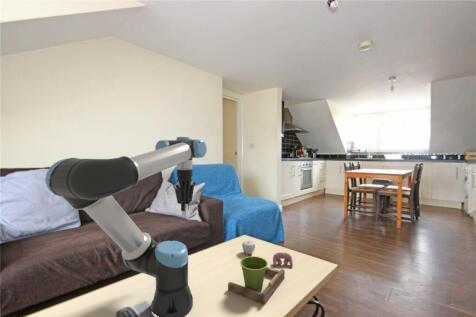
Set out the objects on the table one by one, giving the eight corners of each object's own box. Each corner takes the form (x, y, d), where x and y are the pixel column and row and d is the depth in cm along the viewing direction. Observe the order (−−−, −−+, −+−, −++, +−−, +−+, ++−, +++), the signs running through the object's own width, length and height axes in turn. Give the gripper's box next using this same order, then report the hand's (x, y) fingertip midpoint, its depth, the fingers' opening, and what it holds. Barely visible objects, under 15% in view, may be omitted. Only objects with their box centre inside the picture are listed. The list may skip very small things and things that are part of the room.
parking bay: (228, 290, 97) (228, 279, 97) (251, 268, 115) (251, 259, 114) (264, 304, 88) (264, 292, 88) (284, 278, 106) (284, 268, 106)
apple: (244, 249, 137) (244, 238, 137) (256, 251, 135) (257, 239, 134) (239, 254, 130) (239, 243, 130) (253, 256, 127) (253, 245, 127)
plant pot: (239, 280, 104) (239, 256, 103) (265, 280, 104) (265, 256, 104) (239, 297, 92) (240, 269, 92) (269, 297, 92) (270, 269, 92)
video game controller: (292, 267, 119) (291, 252, 122) (293, 267, 115) (292, 252, 118) (272, 266, 120) (272, 252, 123) (273, 266, 115) (273, 251, 118)
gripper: (188, 167, 119) (188, 213, 120) (168, 169, 108) (169, 219, 109) (199, 168, 115) (199, 215, 116) (180, 170, 104) (180, 221, 105)
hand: (185, 217), depth 112 cm, fingers closed
